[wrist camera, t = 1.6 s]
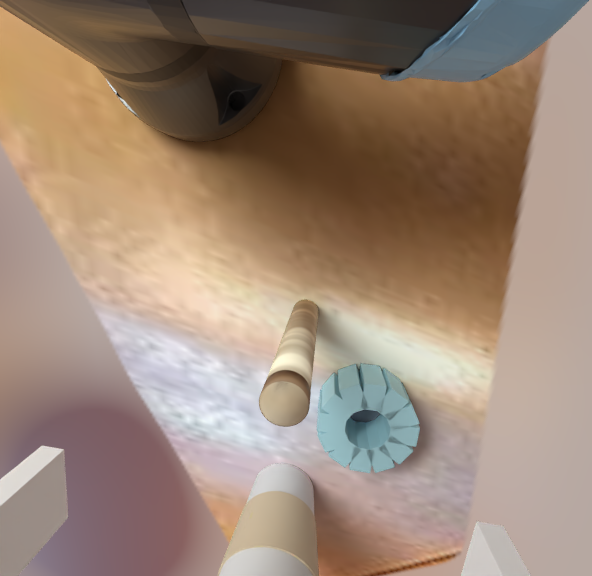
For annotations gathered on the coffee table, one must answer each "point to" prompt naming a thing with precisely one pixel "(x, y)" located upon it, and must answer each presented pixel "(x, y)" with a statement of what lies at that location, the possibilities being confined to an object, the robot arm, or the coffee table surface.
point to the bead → (371, 435)
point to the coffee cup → (275, 527)
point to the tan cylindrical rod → (292, 369)
